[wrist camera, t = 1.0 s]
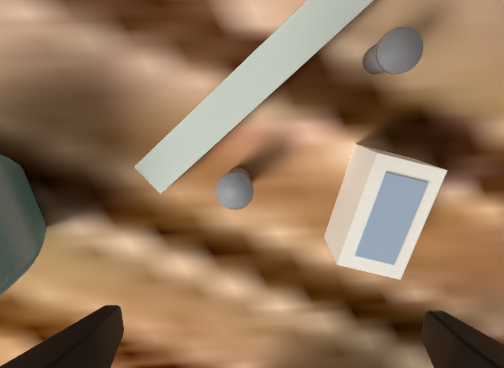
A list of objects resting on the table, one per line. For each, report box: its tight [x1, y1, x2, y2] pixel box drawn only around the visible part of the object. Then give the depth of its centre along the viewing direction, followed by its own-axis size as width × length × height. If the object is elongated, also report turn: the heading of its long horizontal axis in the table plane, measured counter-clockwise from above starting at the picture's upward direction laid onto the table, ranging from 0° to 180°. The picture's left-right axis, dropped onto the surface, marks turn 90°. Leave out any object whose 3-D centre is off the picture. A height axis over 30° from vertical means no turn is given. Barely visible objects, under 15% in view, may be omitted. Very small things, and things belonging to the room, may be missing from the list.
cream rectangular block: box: [324, 144, 447, 280], centre depth 19 cm, size 7×4×4 cm, turn 166°
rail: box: [134, 0, 423, 210], centre depth 17 cm, size 6×20×3 cm, turn 132°
